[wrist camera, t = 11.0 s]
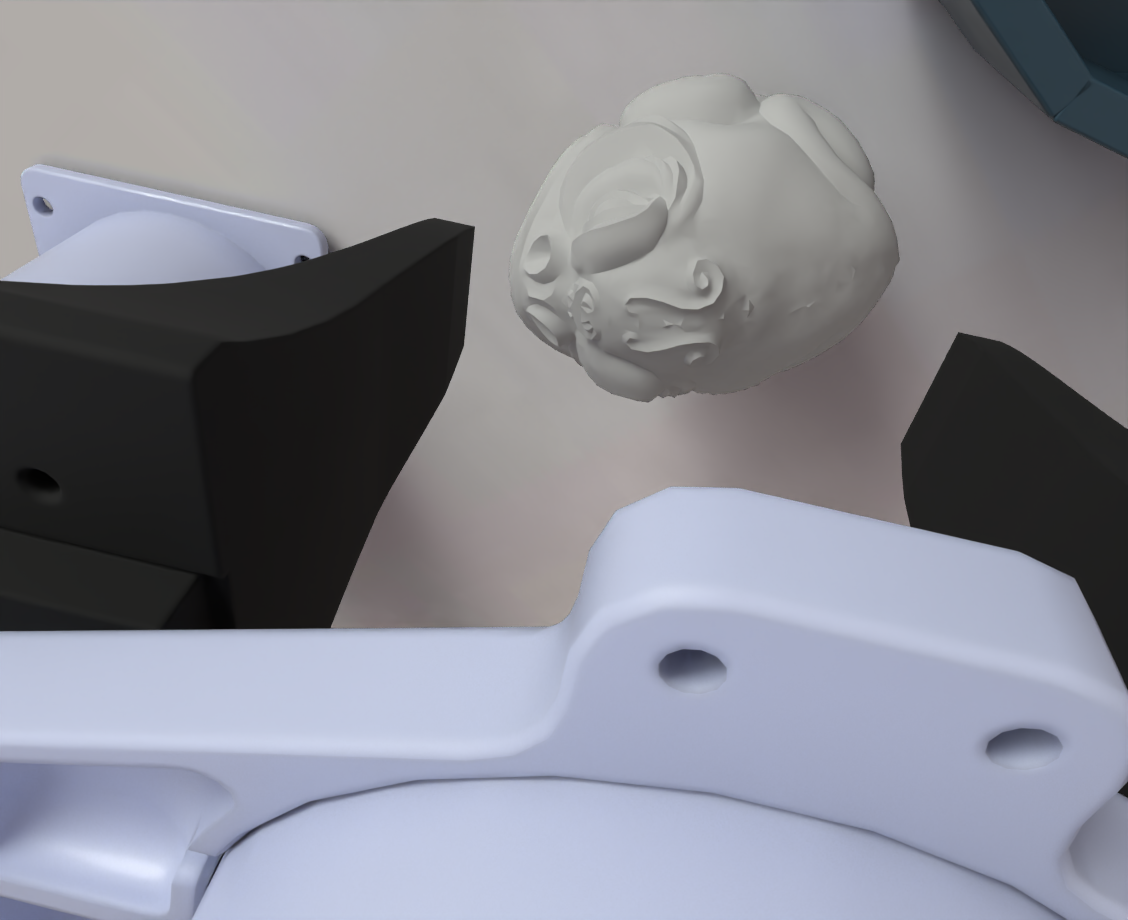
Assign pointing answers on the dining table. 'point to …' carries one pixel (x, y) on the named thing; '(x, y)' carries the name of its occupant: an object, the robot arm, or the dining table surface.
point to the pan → (1058, 58)
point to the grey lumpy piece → (703, 241)
